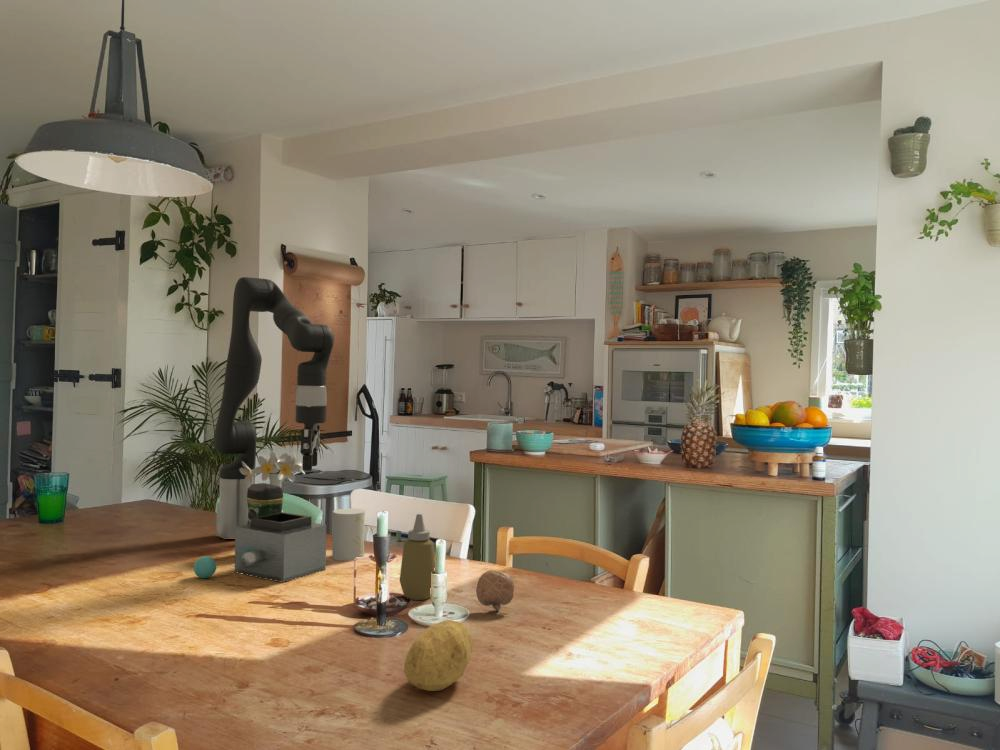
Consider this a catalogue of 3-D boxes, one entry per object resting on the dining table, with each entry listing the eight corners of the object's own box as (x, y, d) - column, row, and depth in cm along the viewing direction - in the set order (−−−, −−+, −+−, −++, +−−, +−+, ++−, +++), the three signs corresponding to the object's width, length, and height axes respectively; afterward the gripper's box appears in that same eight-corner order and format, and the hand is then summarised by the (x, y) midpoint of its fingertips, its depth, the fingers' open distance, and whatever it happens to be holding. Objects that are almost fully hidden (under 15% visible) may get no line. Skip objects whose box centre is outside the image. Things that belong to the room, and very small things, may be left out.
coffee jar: (287, 555, 206) (288, 484, 206) (260, 560, 200) (261, 487, 200) (268, 548, 213) (269, 480, 213) (241, 553, 207) (242, 483, 207)
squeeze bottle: (430, 603, 166) (431, 518, 166) (394, 600, 168) (395, 516, 168) (440, 593, 174) (442, 512, 174) (406, 590, 176) (407, 510, 176)
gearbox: (221, 576, 184) (222, 521, 184) (277, 560, 200) (278, 509, 200) (270, 586, 176) (271, 529, 176) (325, 569, 192) (326, 516, 192)
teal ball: (188, 578, 182) (188, 557, 182) (206, 574, 186) (206, 552, 186) (203, 582, 179) (203, 560, 179) (220, 577, 184) (221, 555, 184)
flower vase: (231, 542, 220) (233, 452, 220) (287, 532, 234) (288, 448, 234) (258, 549, 212) (260, 456, 211) (314, 538, 226) (315, 452, 226)
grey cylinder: (360, 561, 201) (361, 514, 201) (329, 560, 201) (329, 513, 201) (366, 553, 209) (367, 508, 209) (336, 552, 210) (337, 508, 209)
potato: (489, 680, 126) (490, 621, 126) (423, 709, 115) (424, 644, 115) (445, 664, 133) (446, 608, 133) (379, 689, 122) (380, 628, 122)
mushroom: (518, 610, 163) (519, 571, 163) (502, 617, 158) (503, 578, 158) (489, 603, 167) (489, 566, 167) (472, 610, 162) (472, 572, 162)
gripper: (300, 402, 203) (299, 464, 204) (290, 405, 189) (289, 472, 189) (330, 402, 204) (329, 464, 204) (322, 405, 190) (321, 472, 190)
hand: (310, 468), depth 197 cm, fingers open, 8 cm apart
